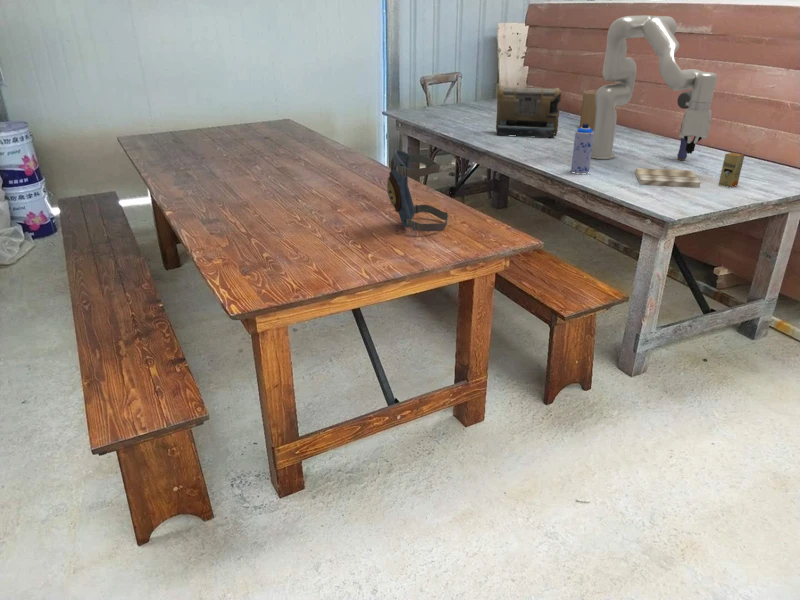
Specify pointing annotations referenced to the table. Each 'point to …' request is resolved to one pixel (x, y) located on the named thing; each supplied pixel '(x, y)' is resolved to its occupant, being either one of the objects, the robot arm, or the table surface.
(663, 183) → the streaked tan wood board
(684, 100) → the rubber mallet
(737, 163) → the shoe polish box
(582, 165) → the aerosol can
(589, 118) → the wooden block
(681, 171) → the pale ash plank
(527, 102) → the brown boxy block
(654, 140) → the table surface
